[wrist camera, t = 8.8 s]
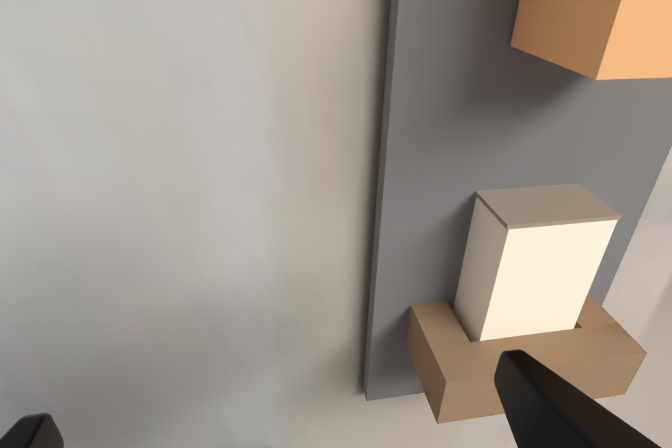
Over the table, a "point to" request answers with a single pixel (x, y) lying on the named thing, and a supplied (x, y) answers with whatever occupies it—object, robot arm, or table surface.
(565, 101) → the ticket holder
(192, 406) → the table surface
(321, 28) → the table surface
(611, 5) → the peach cube cap
